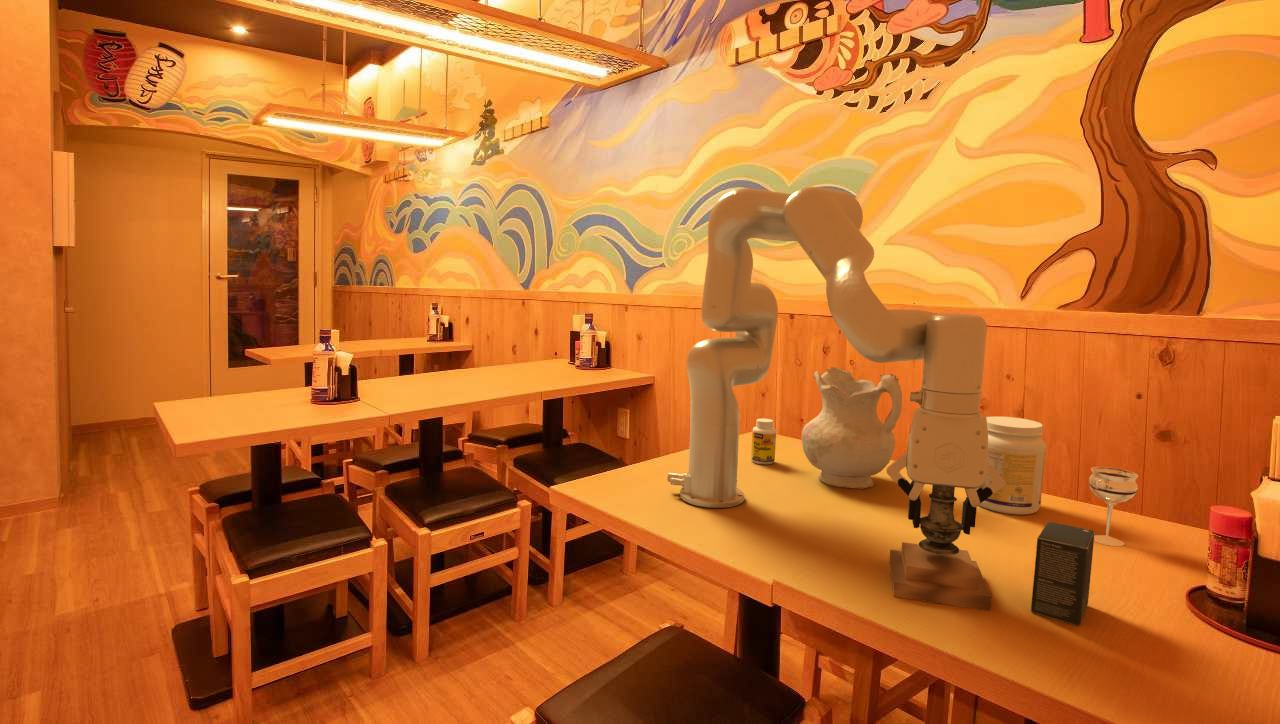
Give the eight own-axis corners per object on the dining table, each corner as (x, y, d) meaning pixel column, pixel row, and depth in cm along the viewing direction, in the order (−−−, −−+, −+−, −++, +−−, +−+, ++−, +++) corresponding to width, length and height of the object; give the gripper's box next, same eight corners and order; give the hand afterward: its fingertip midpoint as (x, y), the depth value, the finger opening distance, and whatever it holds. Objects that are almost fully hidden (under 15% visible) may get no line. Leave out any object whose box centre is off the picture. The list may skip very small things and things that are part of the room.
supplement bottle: (748, 463, 157) (750, 421, 156) (753, 458, 163) (755, 416, 161) (772, 466, 156) (774, 423, 154) (776, 460, 161) (778, 419, 159)
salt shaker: (966, 557, 91) (973, 472, 90) (921, 553, 93) (927, 469, 91) (955, 541, 97) (962, 461, 96) (912, 537, 98) (918, 458, 97)
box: (1040, 592, 94) (1047, 520, 93) (1088, 605, 90) (1096, 530, 89) (1029, 612, 88) (1036, 535, 87) (1079, 627, 84) (1088, 547, 83)
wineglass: (1122, 536, 116) (1130, 469, 115) (1137, 550, 110) (1145, 480, 108) (1077, 530, 118) (1084, 465, 117) (1089, 544, 112) (1097, 475, 110)
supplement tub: (990, 492, 140) (997, 413, 138) (1052, 509, 130) (1060, 424, 127) (957, 502, 133) (964, 418, 131) (1020, 520, 123) (1028, 431, 121)
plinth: (893, 596, 92) (895, 568, 91) (889, 562, 103) (891, 537, 103) (990, 611, 88) (993, 582, 88) (974, 573, 99) (977, 548, 99)
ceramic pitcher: (915, 489, 144) (926, 374, 143) (880, 503, 130) (892, 375, 128) (822, 469, 158) (832, 365, 157) (782, 480, 144) (791, 365, 142)
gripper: (885, 402, 91) (876, 529, 94) (1026, 412, 86) (1014, 546, 88) (883, 394, 99) (875, 512, 101) (1013, 403, 93) (1002, 527, 96)
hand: (940, 526), depth 95 cm, fingers closed on salt shaker, 5 cm apart
